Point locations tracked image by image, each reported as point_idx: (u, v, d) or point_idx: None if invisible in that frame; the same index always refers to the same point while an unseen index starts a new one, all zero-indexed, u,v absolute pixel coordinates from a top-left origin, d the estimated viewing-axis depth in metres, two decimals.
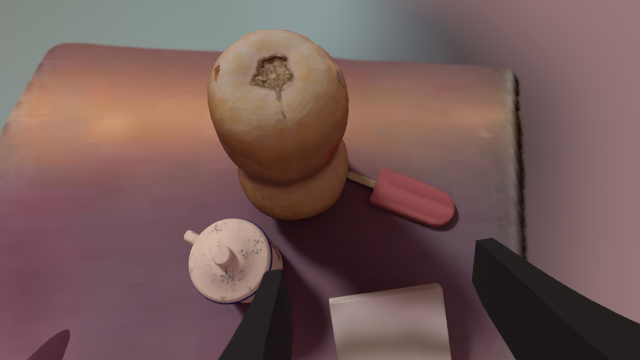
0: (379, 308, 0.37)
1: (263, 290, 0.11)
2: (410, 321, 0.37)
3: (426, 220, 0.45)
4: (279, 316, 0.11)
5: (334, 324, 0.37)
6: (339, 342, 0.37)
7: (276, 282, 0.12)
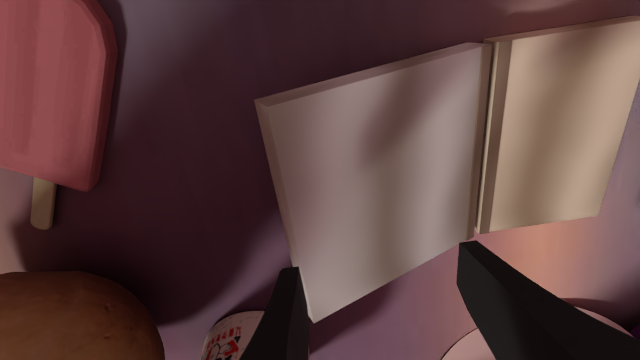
0: (320, 239, 0.17)
1: (281, 287, 0.11)
2: (347, 169, 0.16)
3: (100, 66, 0.17)
4: (298, 313, 0.11)
5: (348, 301, 0.19)
6: (378, 282, 0.20)
7: (294, 279, 0.12)
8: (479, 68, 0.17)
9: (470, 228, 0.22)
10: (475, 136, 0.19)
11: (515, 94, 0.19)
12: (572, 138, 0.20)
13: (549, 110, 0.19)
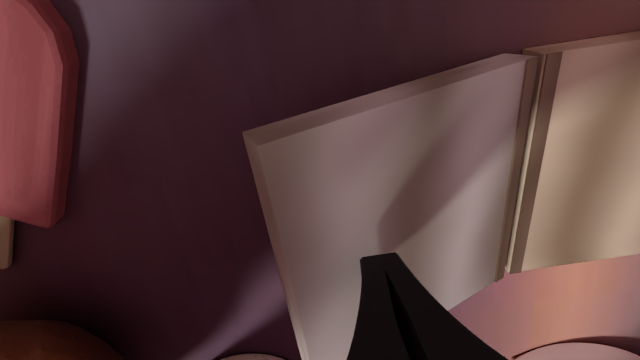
0: (327, 299, 0.13)
1: (370, 275, 0.11)
2: (361, 215, 0.13)
3: (56, 82, 0.14)
4: None
5: None
6: None
7: (380, 267, 0.12)
8: (522, 86, 0.14)
9: (500, 268, 0.19)
10: (512, 166, 0.16)
11: (561, 116, 0.15)
12: (626, 166, 0.17)
13: (601, 134, 0.16)
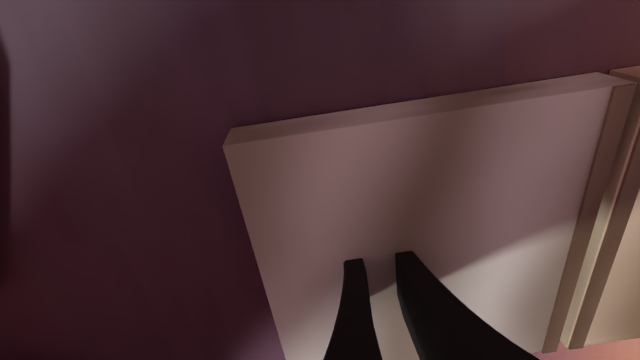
0: (302, 304, 0.13)
1: (351, 277, 0.11)
2: (343, 233, 0.12)
3: None
4: None
5: None
6: None
7: (362, 269, 0.12)
8: (603, 120, 0.10)
9: (553, 339, 0.15)
10: (579, 222, 0.12)
11: None
12: None
13: None
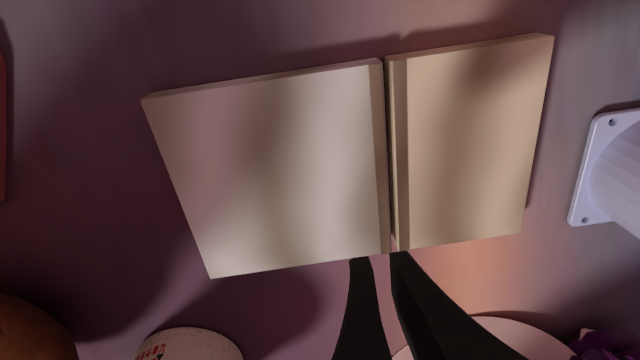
0: (205, 211, 0.20)
1: (358, 276, 0.11)
2: (223, 159, 0.19)
3: None
4: None
5: (243, 271, 0.23)
6: (274, 264, 0.23)
7: (368, 268, 0.12)
8: (370, 85, 0.17)
9: (386, 243, 0.22)
10: (374, 153, 0.19)
11: (417, 113, 0.18)
12: (482, 156, 0.20)
13: (454, 129, 0.19)
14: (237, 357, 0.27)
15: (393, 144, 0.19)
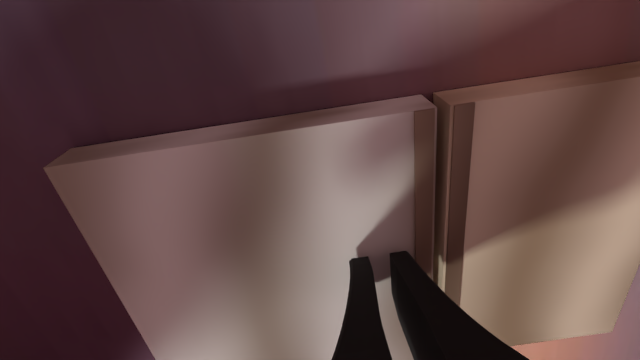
0: (163, 316, 0.14)
1: (358, 276, 0.11)
2: (185, 248, 0.12)
3: None
4: None
5: None
6: None
7: (369, 269, 0.12)
8: (414, 142, 0.11)
9: None
10: (415, 237, 0.13)
11: (484, 181, 0.12)
12: (575, 238, 0.13)
13: (539, 202, 0.12)
14: None
15: (444, 223, 0.13)
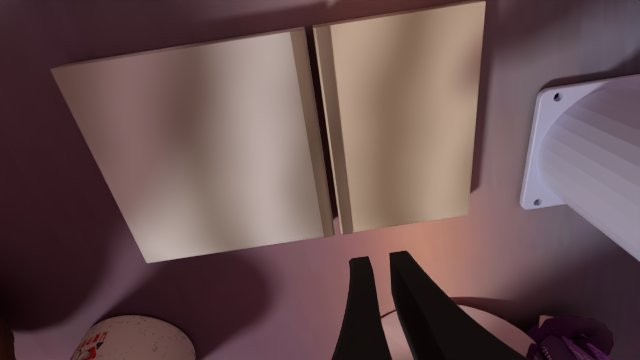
0: (133, 191, 0.19)
1: (358, 276, 0.11)
2: (146, 134, 0.18)
3: None
4: None
5: (180, 255, 0.22)
6: (212, 247, 0.22)
7: (369, 269, 0.12)
8: (294, 55, 0.17)
9: (328, 225, 0.21)
10: (305, 128, 0.18)
11: (347, 85, 0.17)
12: (421, 132, 0.19)
13: (388, 102, 0.18)
14: (185, 346, 0.27)
15: (325, 119, 0.18)
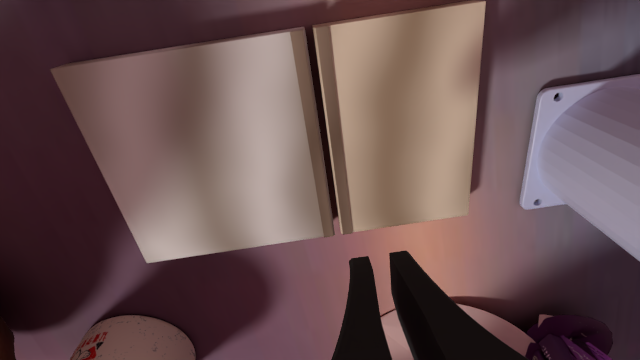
0: (133, 191, 0.19)
1: (358, 276, 0.11)
2: (146, 134, 0.18)
3: None
4: None
5: (180, 255, 0.22)
6: (212, 247, 0.22)
7: (369, 269, 0.12)
8: (294, 55, 0.17)
9: (328, 225, 0.21)
10: (305, 128, 0.18)
11: (347, 85, 0.17)
12: (421, 132, 0.19)
13: (388, 102, 0.18)
14: (185, 346, 0.27)
15: (325, 119, 0.18)
